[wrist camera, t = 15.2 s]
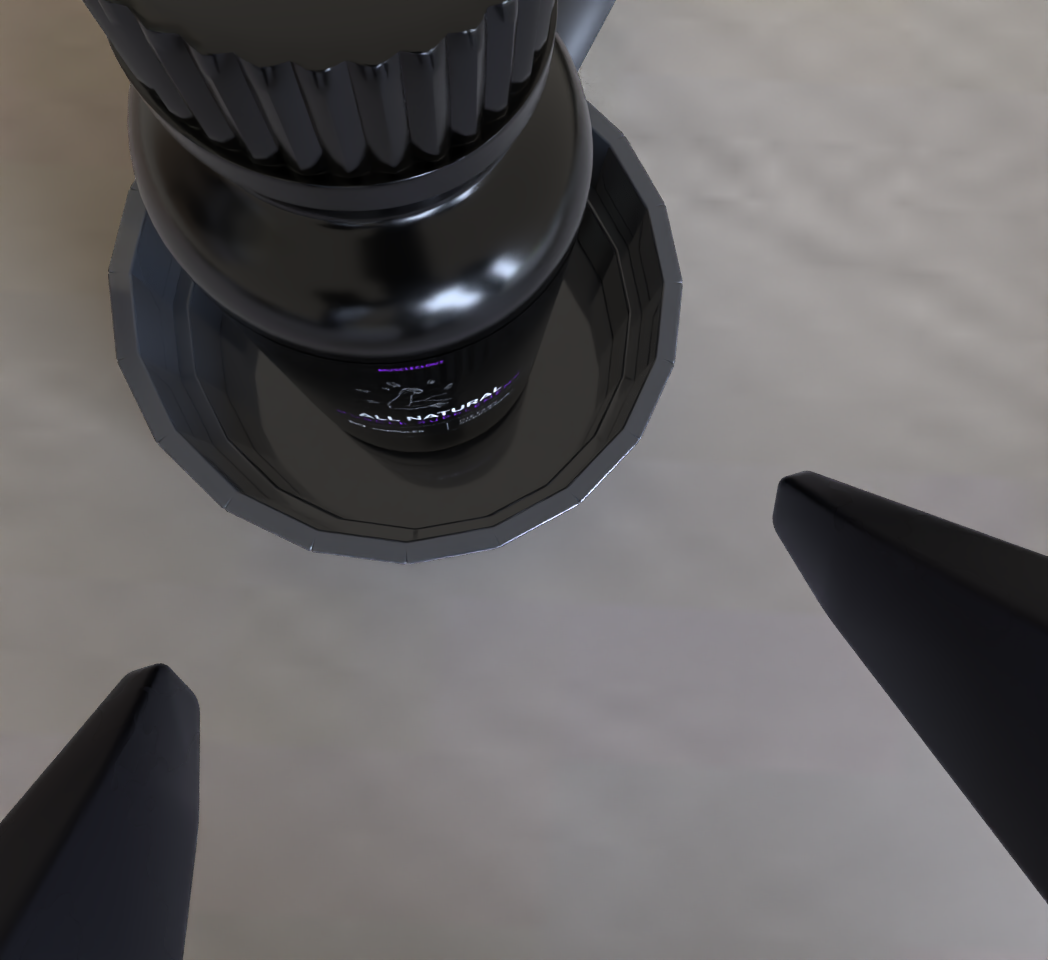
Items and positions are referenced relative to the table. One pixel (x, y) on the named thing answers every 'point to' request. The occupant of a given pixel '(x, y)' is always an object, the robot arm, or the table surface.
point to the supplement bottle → (366, 190)
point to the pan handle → (581, 25)
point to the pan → (406, 477)
